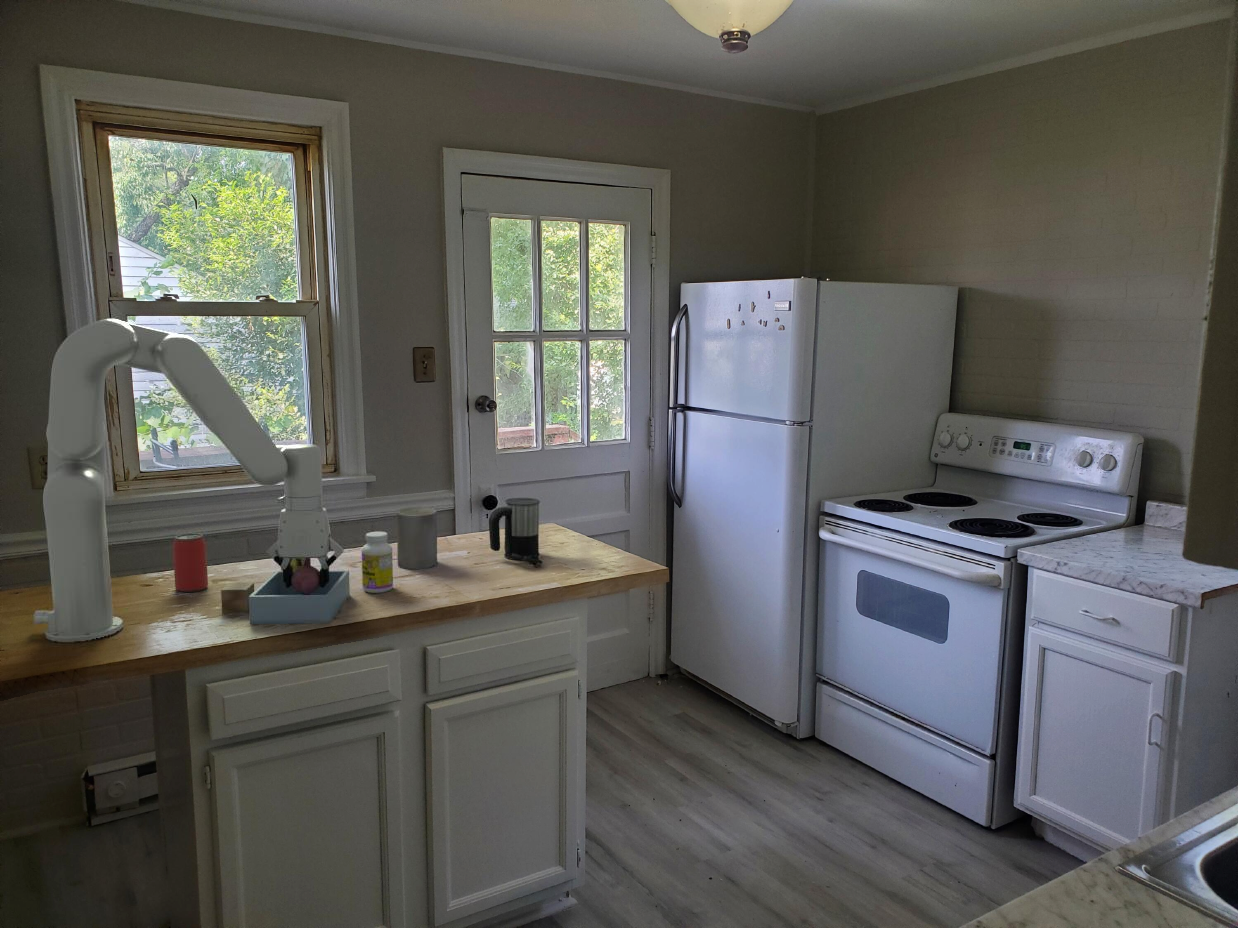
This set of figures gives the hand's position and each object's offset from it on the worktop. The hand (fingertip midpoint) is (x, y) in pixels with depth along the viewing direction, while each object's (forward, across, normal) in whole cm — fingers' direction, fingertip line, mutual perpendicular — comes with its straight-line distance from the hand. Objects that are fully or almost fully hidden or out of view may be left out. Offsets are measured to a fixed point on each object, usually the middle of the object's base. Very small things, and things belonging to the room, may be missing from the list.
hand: (306, 585), depth 186 cm
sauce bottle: (+4, -5, +10) cm, 12 cm away
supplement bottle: (+4, +13, +9) cm, 17 cm away
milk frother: (+4, +46, +34) cm, 57 cm away
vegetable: (+3, 0, 0) cm, 3 cm away
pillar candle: (+4, +19, +30) cm, 36 cm away
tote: (+4, 0, -4) cm, 6 cm away
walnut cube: (+4, -13, -4) cm, 14 cm away
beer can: (+4, -28, +11) cm, 30 cm away
